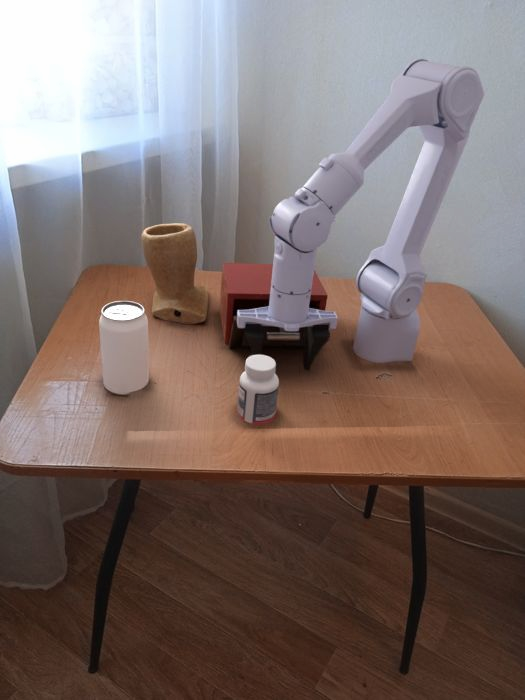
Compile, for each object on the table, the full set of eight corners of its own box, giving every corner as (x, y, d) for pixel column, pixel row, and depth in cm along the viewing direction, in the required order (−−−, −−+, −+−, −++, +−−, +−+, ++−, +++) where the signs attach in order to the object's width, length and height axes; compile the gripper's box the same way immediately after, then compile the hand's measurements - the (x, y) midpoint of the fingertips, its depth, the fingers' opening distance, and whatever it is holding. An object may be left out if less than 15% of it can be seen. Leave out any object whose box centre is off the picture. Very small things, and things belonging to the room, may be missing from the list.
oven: (305, 315, 105) (312, 265, 99) (319, 348, 95) (327, 295, 89) (219, 313, 102) (222, 262, 97) (224, 348, 92) (227, 293, 87)
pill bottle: (280, 412, 79) (287, 359, 74) (265, 433, 74) (271, 378, 70) (247, 400, 80) (251, 347, 76) (230, 420, 76) (234, 365, 72)
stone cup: (147, 288, 109) (146, 212, 101) (209, 291, 109) (212, 217, 102) (136, 326, 96) (132, 242, 88) (206, 330, 97) (209, 247, 89)
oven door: (316, 345, 94) (329, 316, 86) (319, 364, 92) (332, 336, 84) (228, 345, 91) (233, 315, 84) (229, 364, 90) (234, 336, 82)
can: (139, 400, 78) (136, 325, 72) (95, 391, 79) (89, 316, 73) (155, 375, 84) (154, 303, 77) (114, 367, 84) (110, 296, 78)
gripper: (242, 298, 74) (236, 382, 81) (348, 299, 76) (333, 381, 83) (237, 275, 80) (232, 356, 87) (336, 278, 82) (323, 356, 89)
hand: (281, 367), depth 86 cm, fingers open, 7 cm apart
